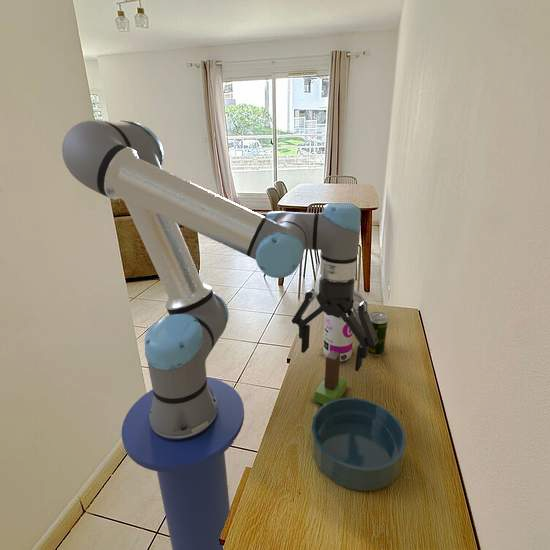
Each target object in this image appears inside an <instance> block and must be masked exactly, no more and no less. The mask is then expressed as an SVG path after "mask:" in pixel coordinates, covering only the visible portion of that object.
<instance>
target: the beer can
mask: <svg viewBox="0 0 550 550" xmlns="http://www.w3.org/2000/svg"><path fill="white" fill-rule="evenodd" d="M369 317H370V319H371V322H372V325H373V327H374V330H375V333H376V335H377V338H378V342H377V344H376V345H375V347H371V346H369V347H368V354H367V355H369V356H372V357H373V356H374V357H380V356H382V355H383V354H384V352H385V347H386V339H387V330H388V322H389V321H388V320H389V319H388V315H387V314H386V313H384V312H381V311H372V312H370V313H369Z"/></svg>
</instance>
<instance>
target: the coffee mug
mask: <svg viewBox="0 0 550 550" xmlns="http://www.w3.org/2000/svg"><path fill="white" fill-rule="evenodd" d="M353 300H354V302H359V303H362V302H363V301H365V295H364V294H363V293H362V292H361V291H359V290H355V289H354V293H353ZM352 309H353V312H354V314H355V318H356V319H357V321H358V322H359V324H360V326H361V327H362V324H361V321H360V319H359V315H358V313H356V309H355V308H352Z"/></svg>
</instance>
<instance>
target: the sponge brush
mask: <svg viewBox="0 0 550 550" xmlns="http://www.w3.org/2000/svg"><path fill="white" fill-rule="evenodd" d="M340 365H341V362H340V353H338V352H335V351H332V350H331V351H330V352H329V354H328V355H327V356H325V365H324V366H325V370H324V371H325V372H324V379H323V380H322V382H321V383H320V385H319V386H318V387H317V389H315V392H314V393H315V395H314V396H315V397H314V402H316V403H318V404H321V405H322V406H323V405H325V404H326V403H327V402H330V401H333V400H336V399H339V398H343V395H344V393H345V392H346V390H347V383H348V381H347V379H346V378H342V377H340Z"/></svg>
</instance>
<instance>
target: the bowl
mask: <svg viewBox="0 0 550 550" xmlns="http://www.w3.org/2000/svg"><path fill="white" fill-rule="evenodd" d="M406 449H407V436H406V431H405V429H404V427H403V426H402V424H401V422H400V420H399V419H398V418H397V417H396V416H395V415H394V414H393V413H392V412H391V411H390V410H389V409H387V408H385V407H384V406H382V405H381V404H379V403H376V402H374V401H371V400H368V399H366V398H359V397H341V398H339V399H336V400H333V401H330V402H327V403H326V404H325V405H323V404H322V406H320V407H319V408H318V409H317V411H316V412H315V413H314V415H313V417H312V422H311V428H310V450H311V454H312V457H313V460H314V462H315V464H316V465H317V467H318V468H319V470H320V471H321V473H323V474H324V475H325V476H326V477H327V478H329V479H330V480H331V481H333V482H335V483H337V485H338V484H339V485H340V486H343V487H344V488H347V489H352V490H356V491H357V490H358V491H362V492H365V491H367V492H368V491H377V490H380V489H383V488H385V487H386V486H389V485H391V484H392V483H394V481H395V480H396V479H397V478H398V477H399V476H400V475H401V472H402V468H403V466H404V465H403V464H404V460H405V454H406Z"/></svg>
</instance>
